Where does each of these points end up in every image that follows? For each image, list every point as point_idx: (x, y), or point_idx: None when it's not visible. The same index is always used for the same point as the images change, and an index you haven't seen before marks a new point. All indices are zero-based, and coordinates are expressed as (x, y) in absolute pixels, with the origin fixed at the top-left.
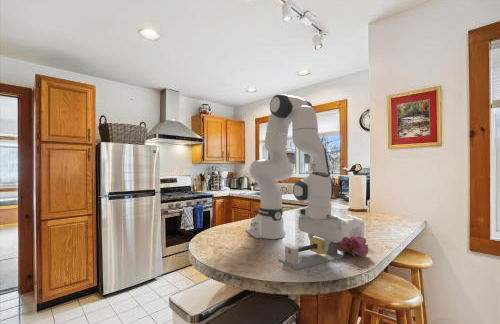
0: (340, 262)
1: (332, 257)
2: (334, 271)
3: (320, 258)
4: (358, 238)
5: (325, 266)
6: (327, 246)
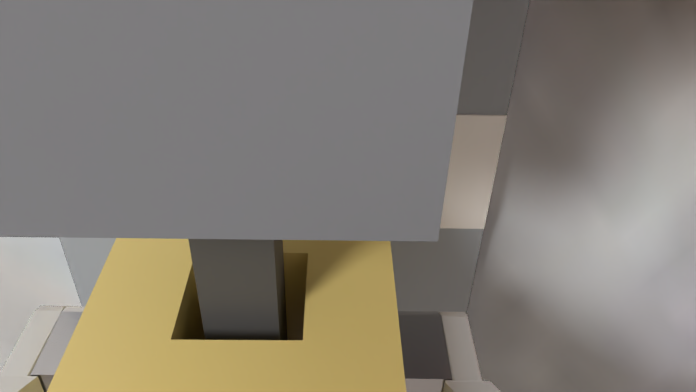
0: (632, 113)
1: (473, 130)
2: (683, 364)
3: None
4: None
5: (543, 351)
6: (476, 387)
